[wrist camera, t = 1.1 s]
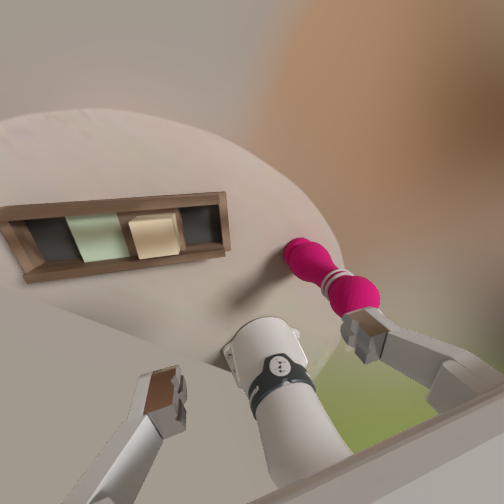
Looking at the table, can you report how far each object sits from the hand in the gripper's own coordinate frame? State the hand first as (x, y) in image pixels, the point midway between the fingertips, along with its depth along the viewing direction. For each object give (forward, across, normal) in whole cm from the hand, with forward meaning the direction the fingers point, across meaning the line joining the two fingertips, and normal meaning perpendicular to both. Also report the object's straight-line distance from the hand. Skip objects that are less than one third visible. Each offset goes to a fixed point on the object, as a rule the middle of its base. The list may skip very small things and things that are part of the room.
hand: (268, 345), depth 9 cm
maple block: (+24, +8, 0) cm, 25 cm away
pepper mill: (+26, -15, +10) cm, 32 cm away
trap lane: (+26, +12, 0) cm, 29 cm away
